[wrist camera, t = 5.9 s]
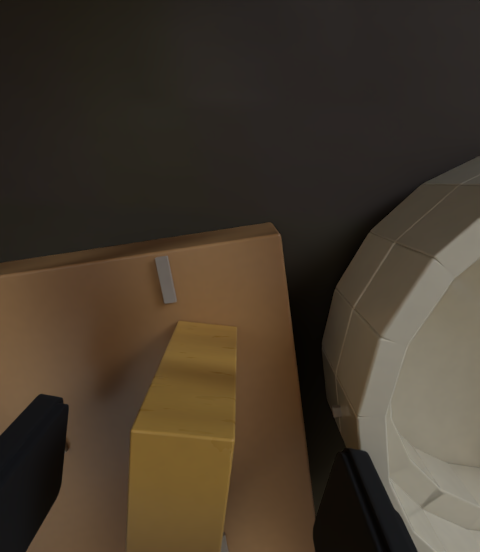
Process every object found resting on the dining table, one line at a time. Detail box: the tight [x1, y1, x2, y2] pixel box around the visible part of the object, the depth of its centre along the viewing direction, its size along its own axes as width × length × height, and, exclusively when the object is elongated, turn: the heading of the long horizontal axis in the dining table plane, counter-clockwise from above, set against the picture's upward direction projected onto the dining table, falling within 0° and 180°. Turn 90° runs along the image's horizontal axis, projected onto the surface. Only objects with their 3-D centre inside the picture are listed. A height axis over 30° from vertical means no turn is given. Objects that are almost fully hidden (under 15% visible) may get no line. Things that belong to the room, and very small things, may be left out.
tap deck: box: [0, 222, 342, 552], centre depth 13 cm, size 13×12×3 cm
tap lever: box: [125, 321, 237, 552], centre depth 9 cm, size 8×2×5 cm, turn 174°
